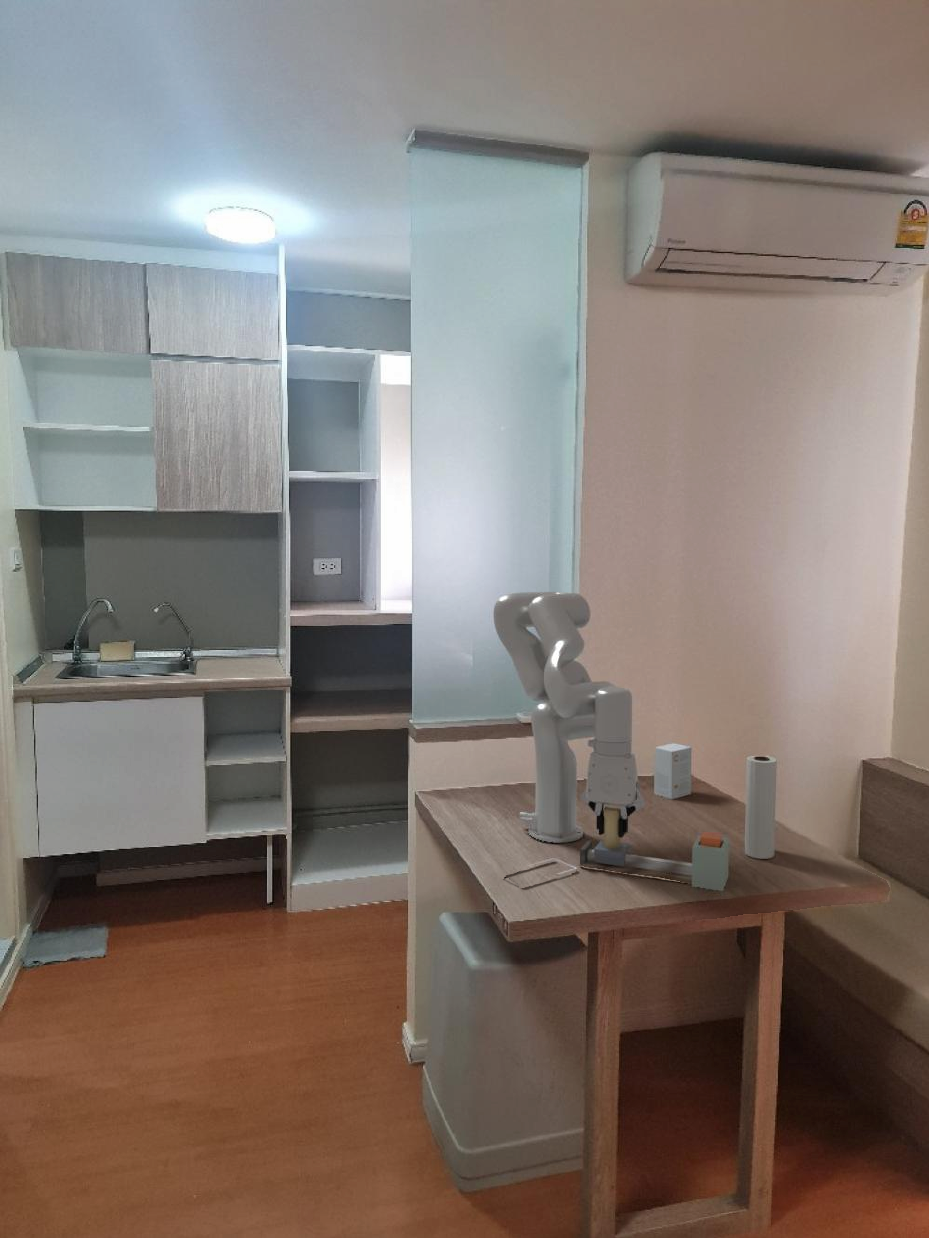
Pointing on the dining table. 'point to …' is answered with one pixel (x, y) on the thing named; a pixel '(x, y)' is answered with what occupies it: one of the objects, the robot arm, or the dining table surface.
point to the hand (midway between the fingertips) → (612, 833)
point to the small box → (672, 770)
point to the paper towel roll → (760, 806)
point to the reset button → (711, 839)
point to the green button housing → (710, 865)
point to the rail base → (640, 865)
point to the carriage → (611, 840)
